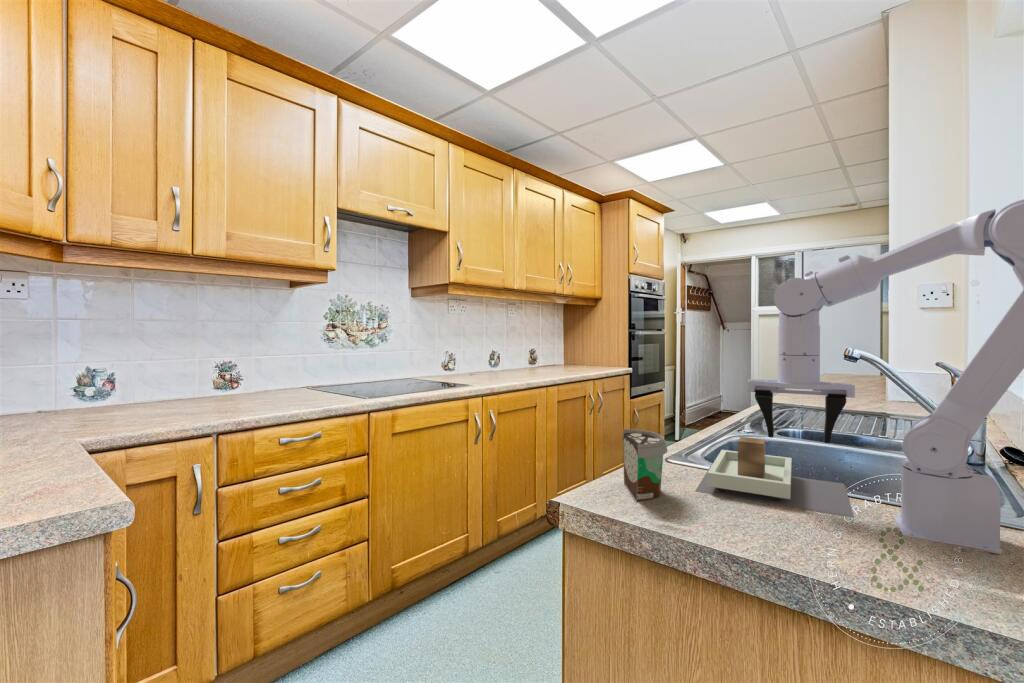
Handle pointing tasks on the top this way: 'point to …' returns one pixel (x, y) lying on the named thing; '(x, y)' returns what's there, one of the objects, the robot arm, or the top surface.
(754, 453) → the walnut block
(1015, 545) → the top surface
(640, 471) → the food container
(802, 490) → the mat
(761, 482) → the pale green tray
